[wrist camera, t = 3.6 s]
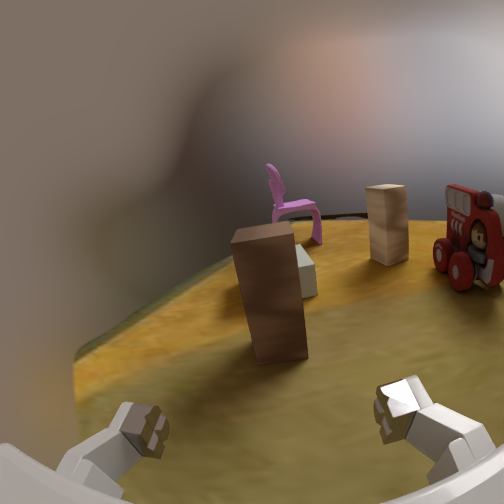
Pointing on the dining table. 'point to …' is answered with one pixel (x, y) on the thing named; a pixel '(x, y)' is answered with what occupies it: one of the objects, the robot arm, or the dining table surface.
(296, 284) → the walnut block
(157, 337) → the dining table surface
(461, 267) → the toy fire truck
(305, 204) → the toy chair
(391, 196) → the maple block
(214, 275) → the dining table surface
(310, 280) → the pedestal block
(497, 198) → the ceramic mug
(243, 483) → the dining table surface
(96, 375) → the dining table surface
